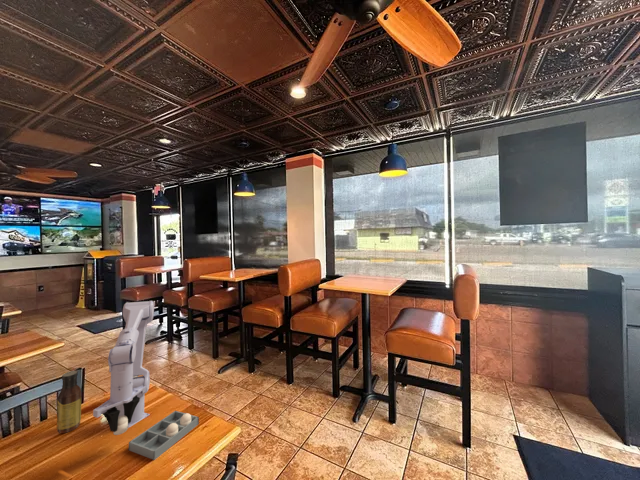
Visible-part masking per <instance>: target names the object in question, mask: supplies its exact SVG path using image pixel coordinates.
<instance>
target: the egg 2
mask: <svg viewBox="0 0 640 480" xmlns="http://www.w3.org/2000/svg"><path fill="white" fill-rule="evenodd" d="M176 433H178V425H177V424H176V423H172V424H170V425H169V426H168V427H167V429H166V436H168V437H173V436H174V435H175V434H176Z"/></svg>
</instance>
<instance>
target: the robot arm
mask: <svg viewBox="0 0 640 480" xmlns="http://www.w3.org/2000/svg"><path fill="white" fill-rule="evenodd" d="M154 311H155V302H154V301H153V300H149V301H148V300H147V301H134V302H125V303H124V304H123V308H122V317H123V319H124V322H125V327H124V329H121V330H120V332H119V334H118V337H117V339H116V342H115V345H114V347H113V348H110V350H109V352H108V357H107V362H108V363H107V365H108V368H109V370H108V371H109V373H110V392H109V399H107V400H106V401H105V402H104V403H102V404H101V405H99V406H98V407H96V408H94V409H93V410H92V411H93V412H92V417H94V418H96V419H97V418H99V417H101V416H103V417H104V418H105V419H106V421H107V423H108V427H109V431H111V432H112V433H114V432H115V431H117V427H118V417H119V416H122V415H125V416H127V418H128V429H129V428H131V427H132V426H134V425H136V424H137V423H139V422H140V421H142V420H143V419H146V418H148V417H149V416H150V415H151V414H150V413H147V412H145V394H146V393H147V392H148V391H149V389H150V383H151V382H150V381H151V379H150V377H151V376H150V370H148V369H147V368H145V367H143V360H144V359H143V358H144V350H145V340H146V331H147V327H148V324H150V323H151V322H153V319H154V313H155V312H154ZM133 376H138V377H134V378H133Z"/></svg>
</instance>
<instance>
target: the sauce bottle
mask: <svg viewBox="0 0 640 480" xmlns="http://www.w3.org/2000/svg"><path fill="white" fill-rule="evenodd" d="M61 380H62V385H61V387H62V388H61V389H60V392H59V393H58V396H57V399H56V430H57V433H58V434H64V433H68V432H72V431H74V430H75V429H77V428H78V427H80V425H81V420H82V389H81V387H80V386H79V384H78V370H72V371H68V372H64V373H63V374H62V376H61Z"/></svg>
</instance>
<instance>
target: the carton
mask: <svg viewBox="0 0 640 480" xmlns="http://www.w3.org/2000/svg"><path fill="white" fill-rule="evenodd" d="M186 413H187V412H182V411H177V410H173V412H171V413H170V414H168V415H167V416H166V417H164V418H163V419H161V420H159V421H158V422H157V423H155V424H154V425H152V426H151V427H149V428H147V429H146V430H145V431H143V432H142V433H141V434H139V435H137V436H135V438H133V439H132V440H130V441H128V451H130V452H132V453H135V454H137V455H139V456H143V457H145V458H147V459H150V460H153V461H156V460H157V459H158V458H159V457H160V456H162V454H164V453H165V452H166V451H168V450H169V449H170V448H171V447H172V446H174V445H175V444H176V443H177V442H178V441H180V440H182V438H184V437H185V436H186V435H187V434H188V433H189V432H191V431H192V430H194V429H195V428H196V427H197V426H198V425H200V424H199V421H200V417H199V416H196V415H193V414H190V415H191V422H190V423H189V424H188V425H187V426H181V425H180V419H181V417H182V416H183V415H184V414H186ZM172 423H176V424H177V425H178V433H176V434H175V435H174V436H173V437H168V436H166V429H167V427H168V426H169V425H170V424H172Z"/></svg>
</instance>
